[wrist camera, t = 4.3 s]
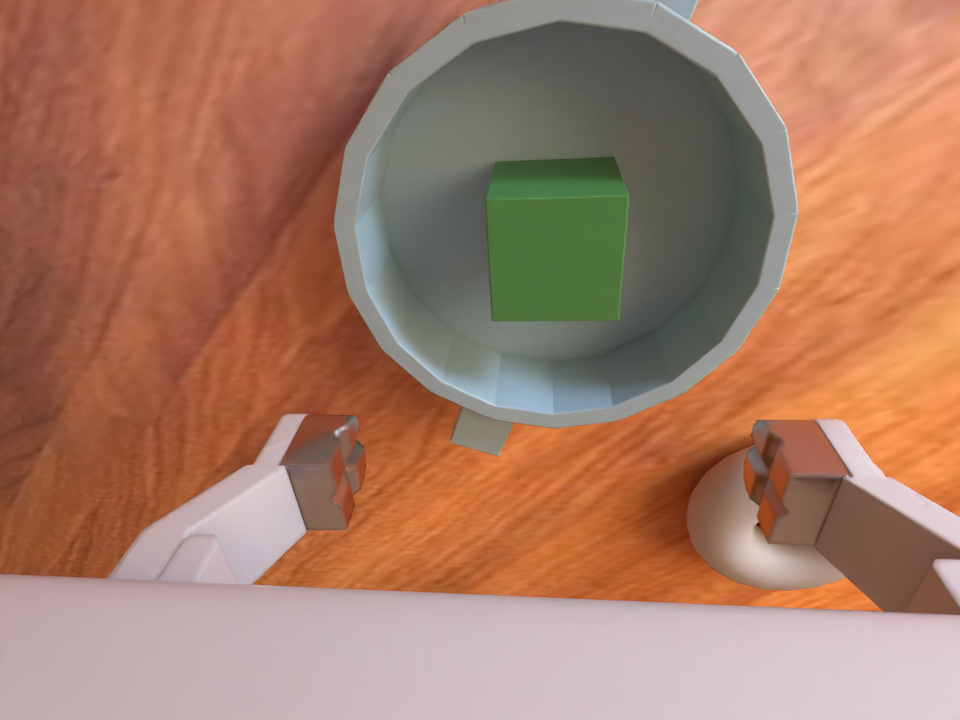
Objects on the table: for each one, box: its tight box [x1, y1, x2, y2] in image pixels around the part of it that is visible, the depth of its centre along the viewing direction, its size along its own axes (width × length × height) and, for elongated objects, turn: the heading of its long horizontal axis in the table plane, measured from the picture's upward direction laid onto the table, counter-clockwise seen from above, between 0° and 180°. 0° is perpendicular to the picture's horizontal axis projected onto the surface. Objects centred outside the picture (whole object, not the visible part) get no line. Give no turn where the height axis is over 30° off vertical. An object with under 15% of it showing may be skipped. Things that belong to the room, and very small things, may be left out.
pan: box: [333, 0, 799, 456], centre depth 22 cm, size 16×21×4 cm
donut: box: [686, 444, 885, 591], centre depth 30 cm, size 10×4×10 cm
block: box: [485, 157, 629, 322], centre depth 21 cm, size 5×5×5 cm
